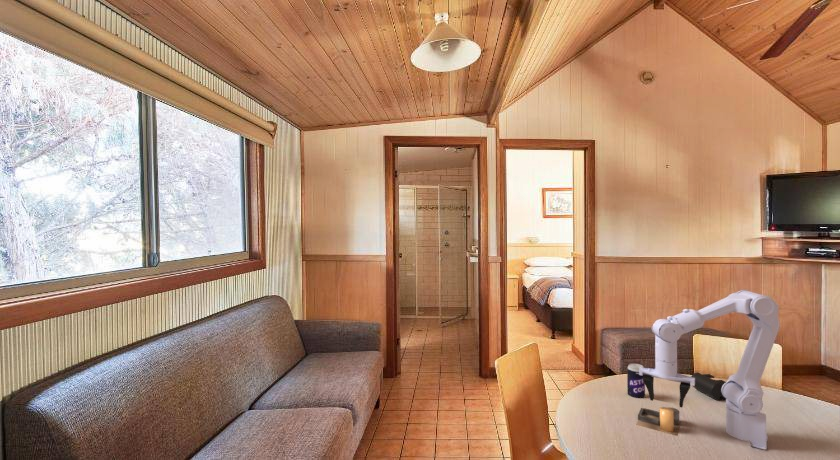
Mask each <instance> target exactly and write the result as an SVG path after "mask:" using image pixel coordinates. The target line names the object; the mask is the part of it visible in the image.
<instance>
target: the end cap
mask: <svg viewBox="0 0 840 460" xmlns="http://www.w3.org/2000/svg"><path fill="white" fill-rule="evenodd" d="M690 377H694V378H695V386H692V388H694V389H696V390H697V391H699V392H700V393H702V394H704V395H705V396H708V397H710V398H712V399H713V400H715V401H718V402H719V401H726V398H725V397H724V396H723V395H722V392H721V388H722V386H723V384H724V383H726V382H727V381H724V380H723V379H715V375H711V374H710V373H705V374H702V373H700V372H694V373H693V374H692V375H691V376H690Z"/></svg>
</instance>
